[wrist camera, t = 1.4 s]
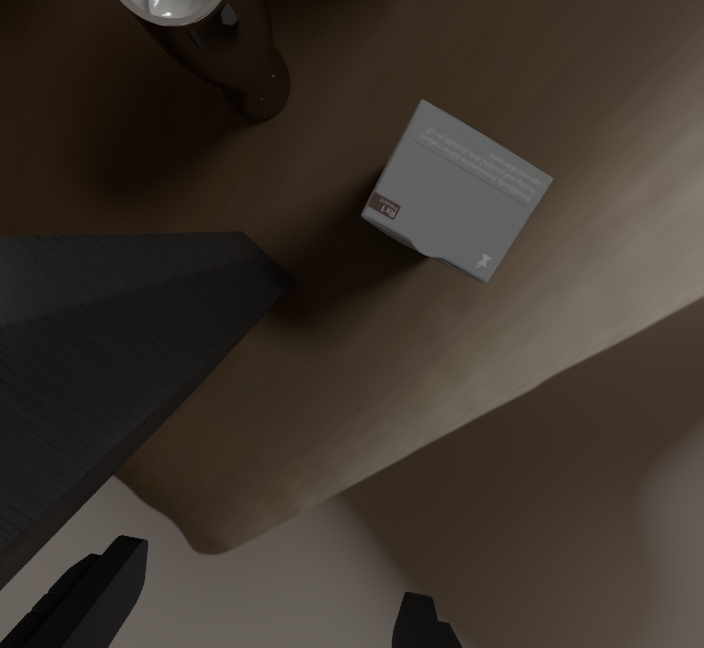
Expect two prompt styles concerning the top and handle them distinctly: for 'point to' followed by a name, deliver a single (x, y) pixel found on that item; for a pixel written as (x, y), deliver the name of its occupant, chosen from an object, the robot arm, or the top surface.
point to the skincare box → (454, 194)
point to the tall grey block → (107, 357)
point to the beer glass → (222, 48)
